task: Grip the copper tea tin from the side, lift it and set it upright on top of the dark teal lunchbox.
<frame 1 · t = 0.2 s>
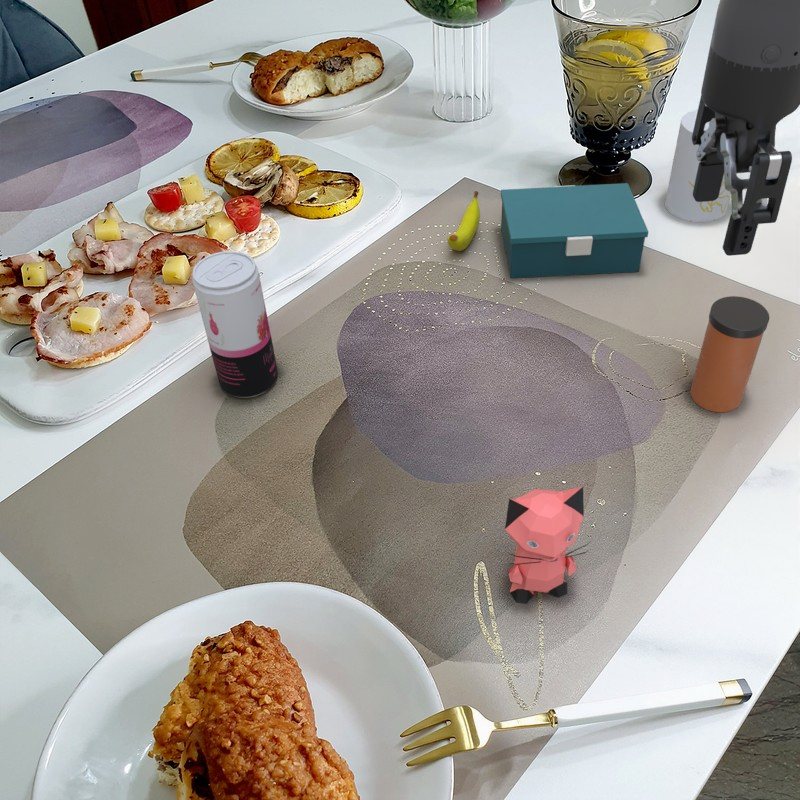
hand: (719, 224, 76), 21 cm above the table, tool pointing down, fingers open, 8 cm apart
cat figurine: (536, 582, 75), on the table
fruit: (464, 243, 113), on the table
beverage can: (249, 381, 95), on the table
tea tin: (715, 395, 90), on the table
cup: (695, 207, 117), on the table
lunchbox: (567, 250, 111), on the table
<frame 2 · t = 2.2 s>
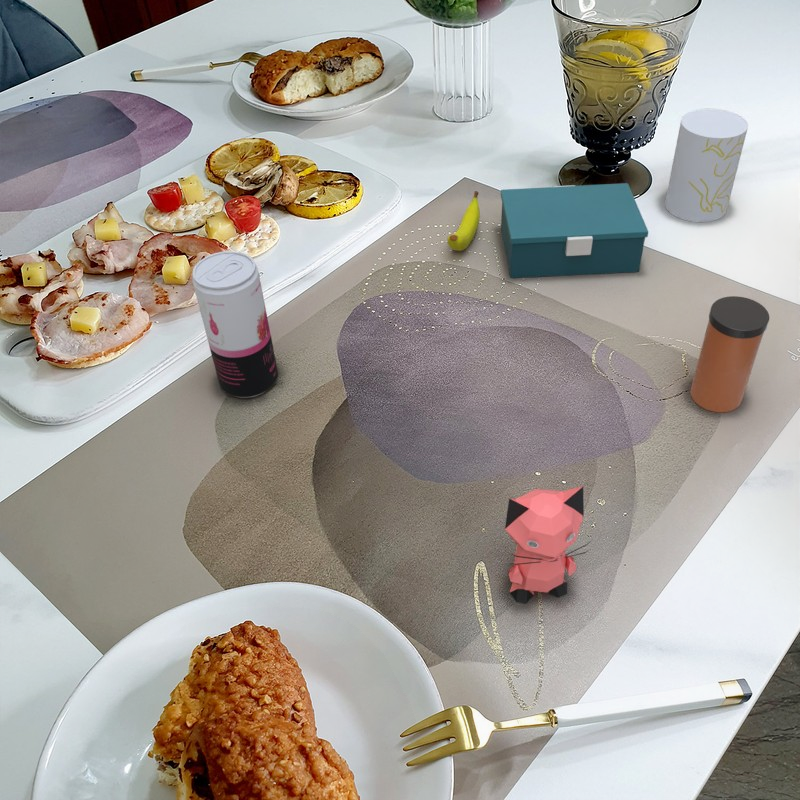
nothing on the table moved.
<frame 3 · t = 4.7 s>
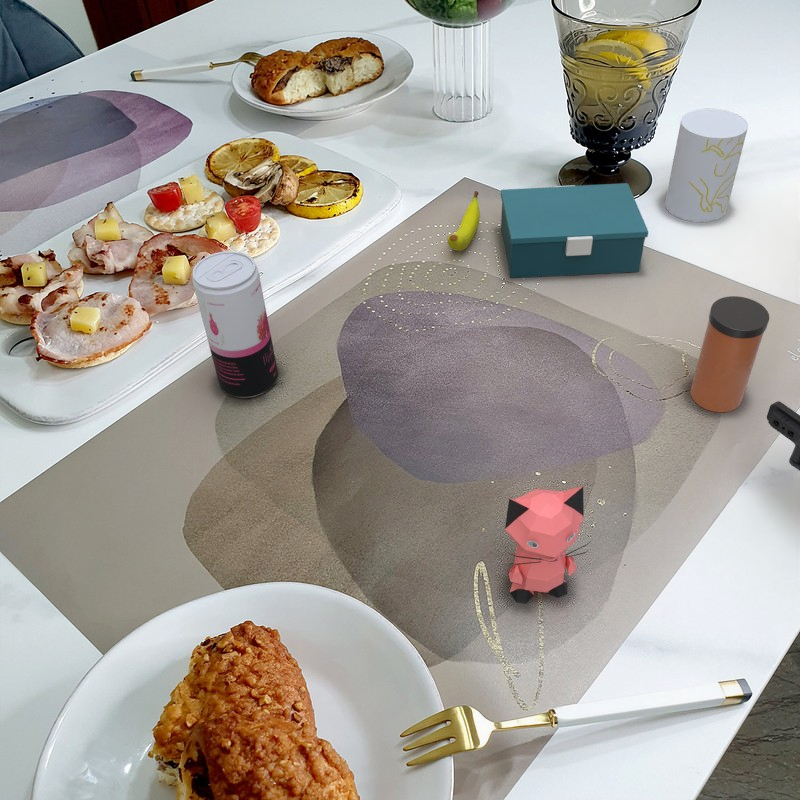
nothing on the table moved.
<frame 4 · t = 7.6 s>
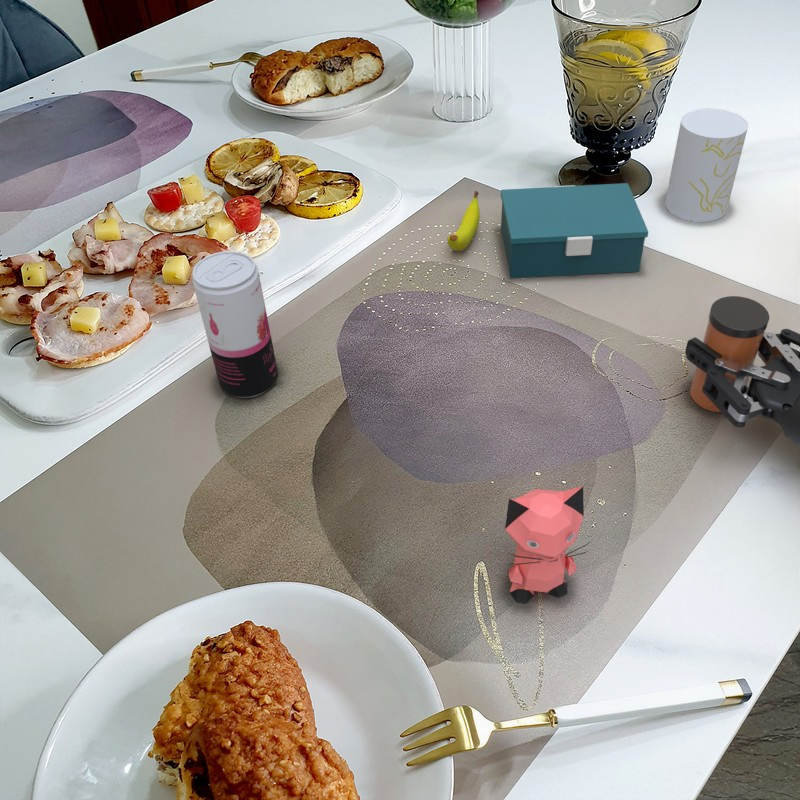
hand: (709, 335, 87), 7 cm above the table, tool horizontal, fingers closed on tea tin, 5 cm apart
tea tin: (715, 395, 90), on the table, touching gripper
everything else where it was.
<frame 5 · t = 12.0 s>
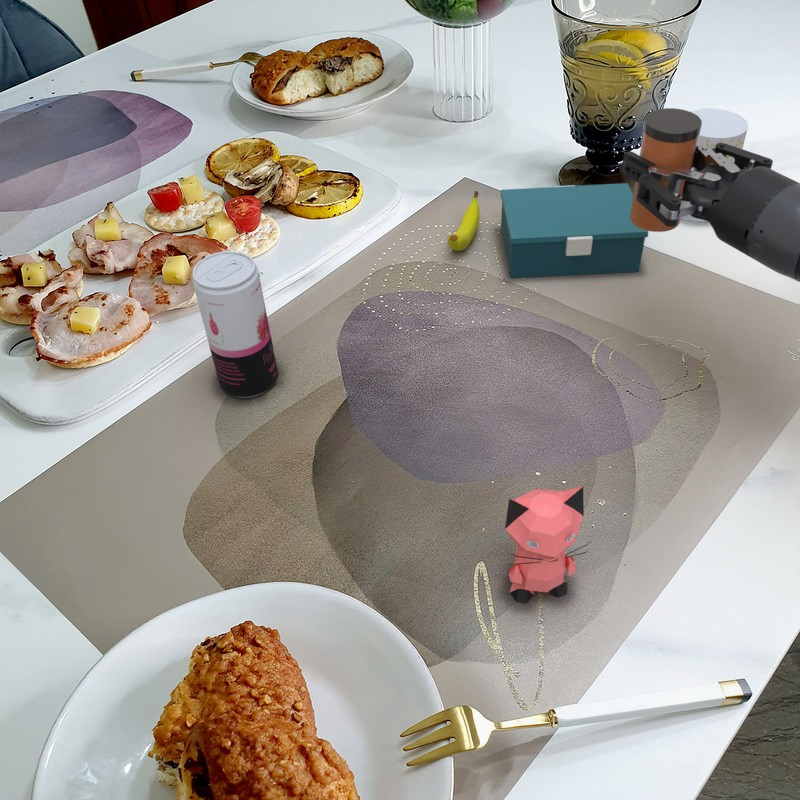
hand: (646, 152, 88), 20 cm above the table, tool horizontal, fingers closed on tea tin, 5 cm apart
tea tin: (654, 218, 91), point 13 cm above the table, touching gripper
everything else where it was.
when the fingers open (13 cm above the table, at t = 16.5 s): tea tin stays where it is, resting on lunchbox.
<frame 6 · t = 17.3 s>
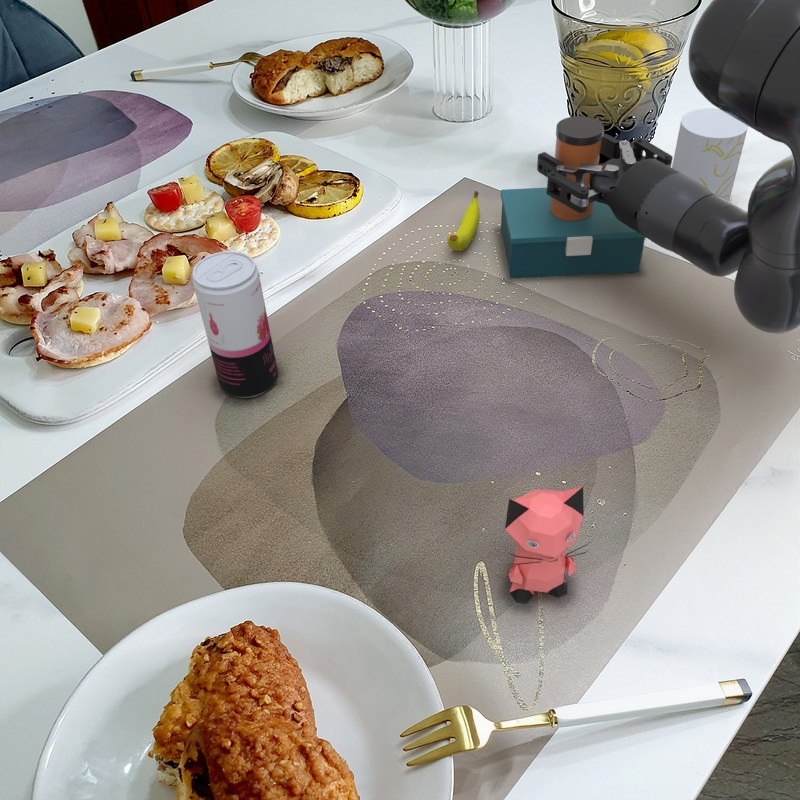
hand: (567, 149, 103), 13 cm above the table, tool horizontal, fingers open, 8 cm apart
tea tin: (571, 210, 106), point 6 cm above the table, touching lunchbox
everything else where it was.
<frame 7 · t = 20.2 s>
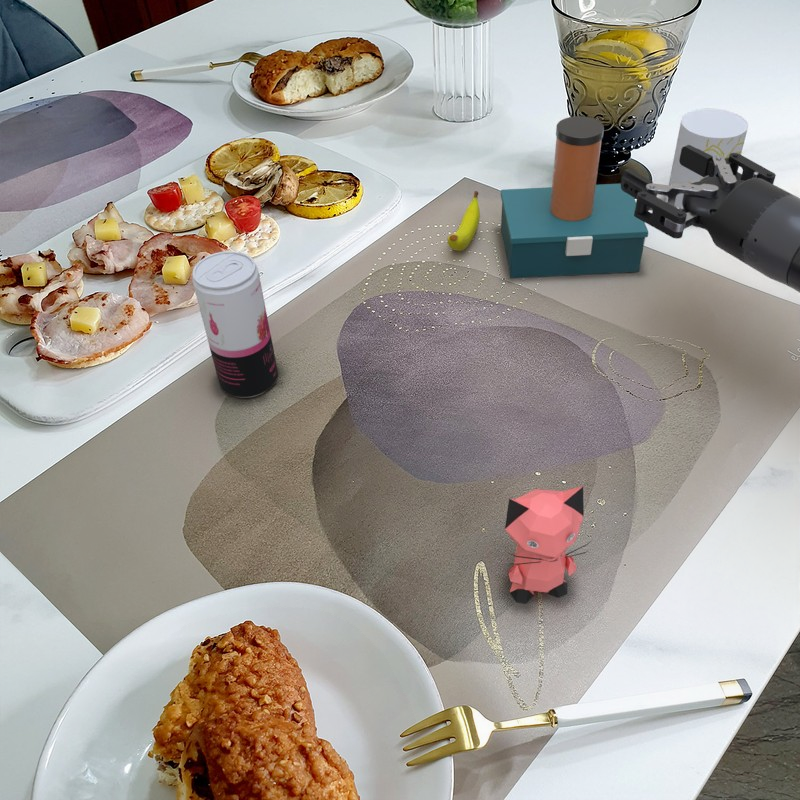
hand: (653, 165, 92), 17 cm above the table, tool horizontal, fingers open, 8 cm apart
nothing on the table moved.
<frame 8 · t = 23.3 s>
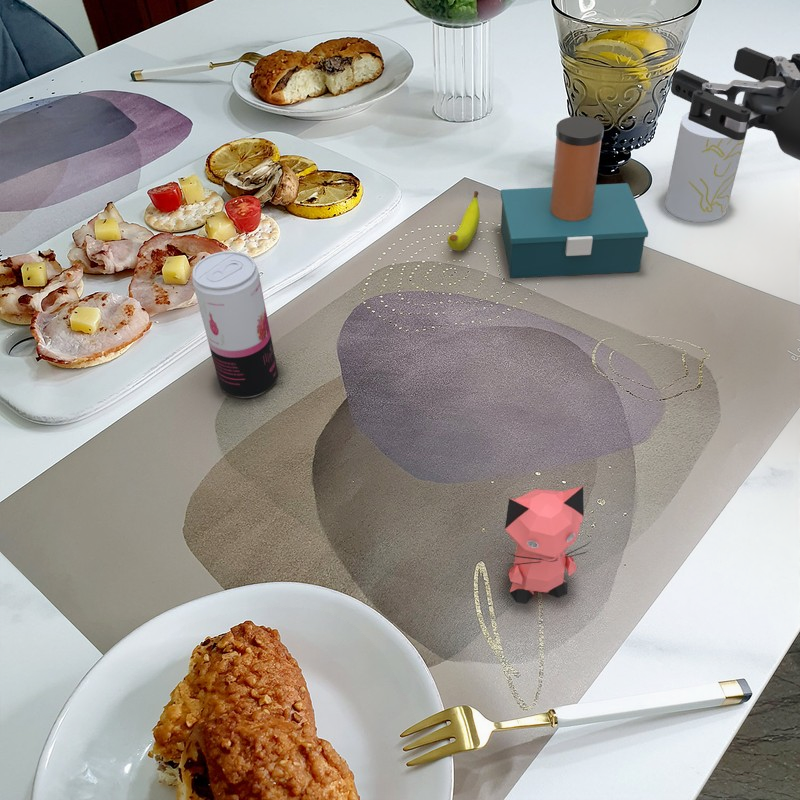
hand: (706, 69, 83), 28 cm above the table, tool horizontal, fingers open, 8 cm apart
nothing on the table moved.
at the end: tea tin inside the target area on the lunchbox (0.1 cm from its centre), point 6.0 cm above the lunchbox's base; tea tin tilted 0°; the gripper is holding nothing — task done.
